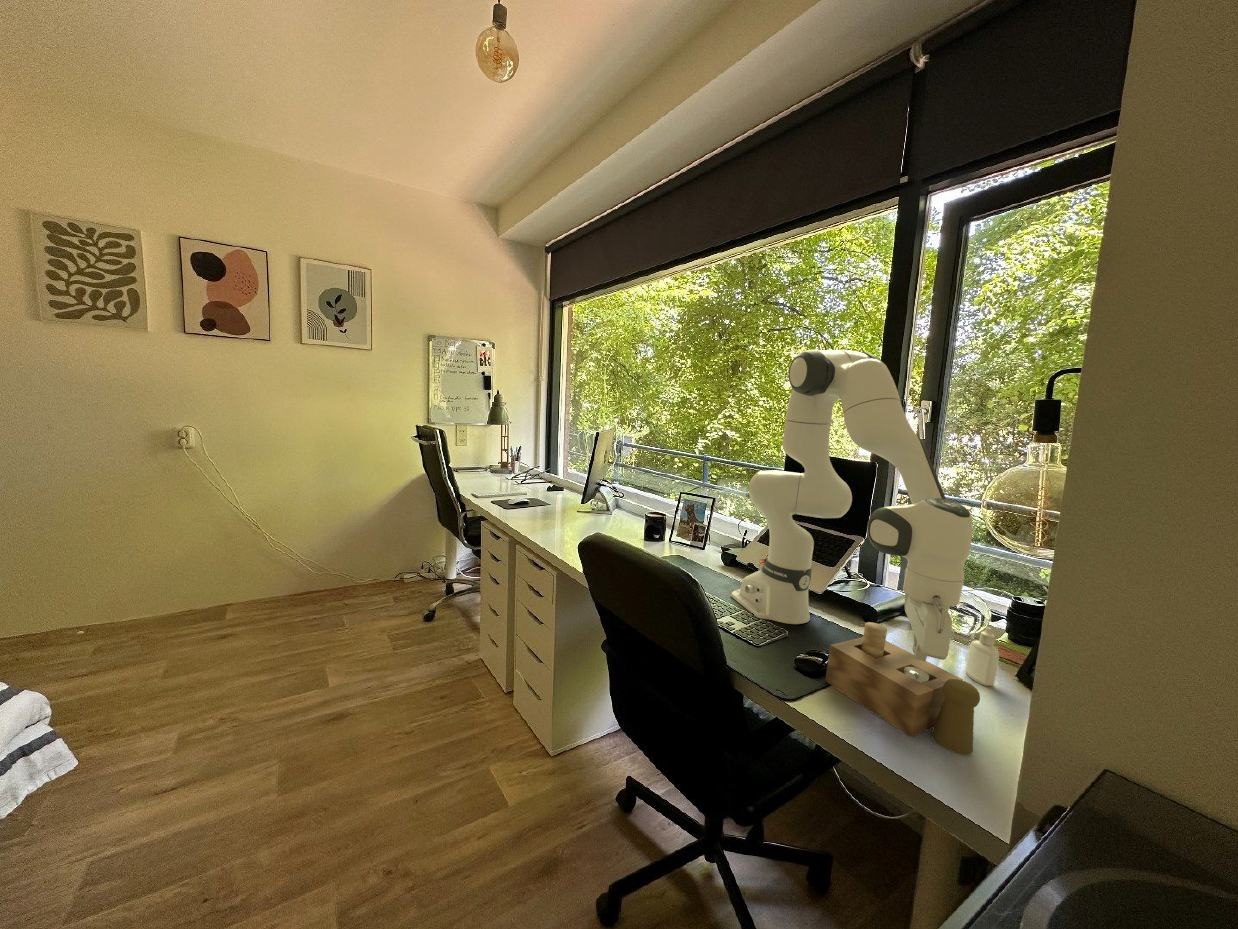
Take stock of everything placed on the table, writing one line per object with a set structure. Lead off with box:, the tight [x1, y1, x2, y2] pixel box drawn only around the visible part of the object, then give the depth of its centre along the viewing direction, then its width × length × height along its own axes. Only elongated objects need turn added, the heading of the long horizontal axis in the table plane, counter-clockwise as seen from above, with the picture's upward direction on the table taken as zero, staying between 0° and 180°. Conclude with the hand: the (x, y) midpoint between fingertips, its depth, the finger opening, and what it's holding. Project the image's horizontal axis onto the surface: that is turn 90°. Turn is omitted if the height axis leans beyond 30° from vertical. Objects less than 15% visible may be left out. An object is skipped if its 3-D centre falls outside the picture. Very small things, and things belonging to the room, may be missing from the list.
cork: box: [931, 679, 981, 756], centre depth 83 cm, size 6×6×11 cm
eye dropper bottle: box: [965, 626, 1000, 687], centre depth 105 cm, size 4×6×12 cm
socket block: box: [825, 636, 964, 738], centre depth 95 cm, size 18×14×8 cm
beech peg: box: [861, 621, 888, 658], centre depth 98 cm, size 4×4×8 cm
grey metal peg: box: [904, 667, 929, 683], centre depth 91 cm, size 4×4×8 cm
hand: (918, 656), depth 90 cm, fingers closed
